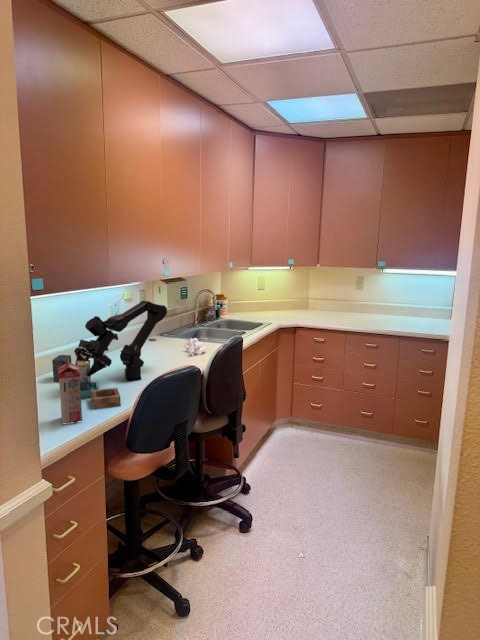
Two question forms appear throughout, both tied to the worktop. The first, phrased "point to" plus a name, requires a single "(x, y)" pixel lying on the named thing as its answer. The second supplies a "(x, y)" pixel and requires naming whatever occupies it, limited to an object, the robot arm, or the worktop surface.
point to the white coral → (194, 346)
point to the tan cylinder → (84, 374)
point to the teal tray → (88, 393)
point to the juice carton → (70, 393)
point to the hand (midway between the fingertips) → (80, 373)
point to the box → (59, 365)
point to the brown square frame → (105, 398)
